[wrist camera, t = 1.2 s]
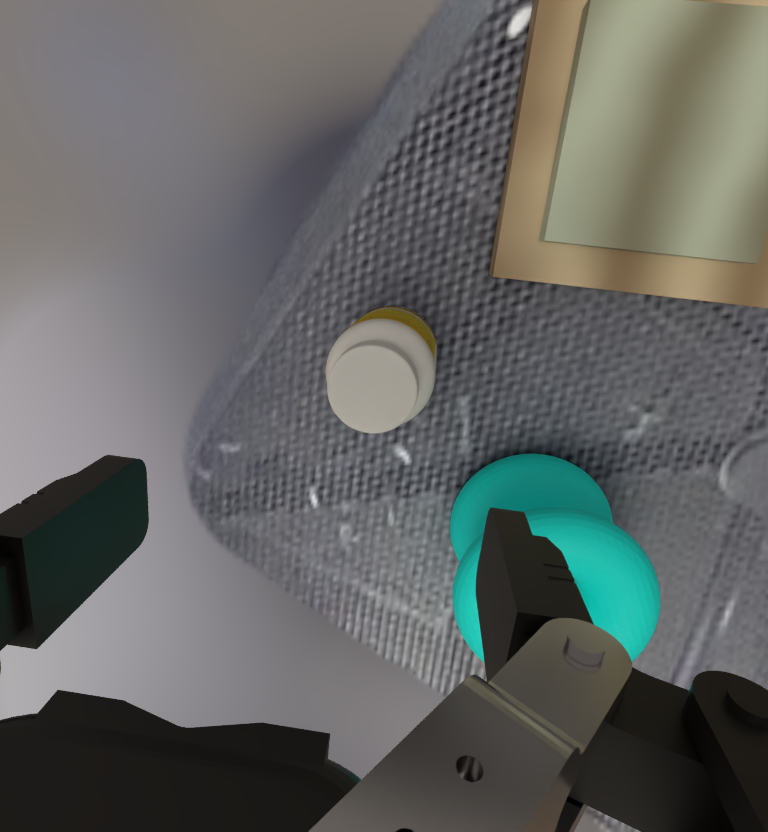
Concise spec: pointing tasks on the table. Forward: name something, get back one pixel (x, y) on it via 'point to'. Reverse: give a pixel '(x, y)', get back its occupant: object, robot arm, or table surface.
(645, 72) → the stacking base
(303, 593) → the table surface
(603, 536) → the donuts
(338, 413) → the supplement bottle
